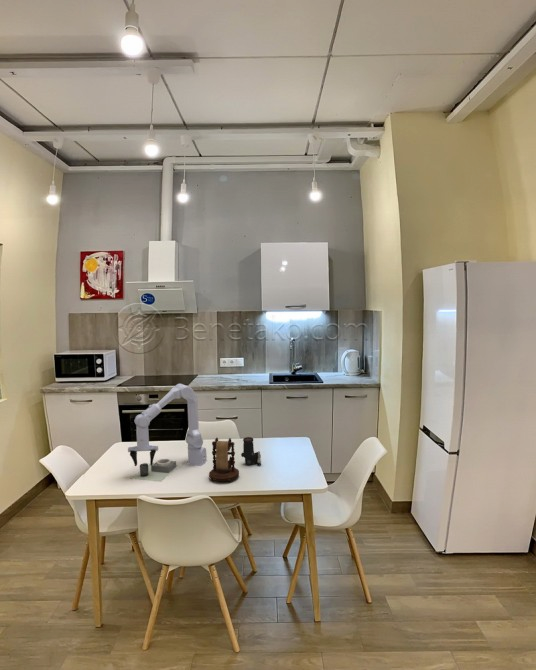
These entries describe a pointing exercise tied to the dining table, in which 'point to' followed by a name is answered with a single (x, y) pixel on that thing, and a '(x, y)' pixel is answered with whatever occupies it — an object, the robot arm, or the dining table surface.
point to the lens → (144, 470)
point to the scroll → (223, 461)
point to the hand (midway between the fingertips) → (143, 465)
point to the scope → (250, 452)
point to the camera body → (163, 466)
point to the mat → (153, 475)
